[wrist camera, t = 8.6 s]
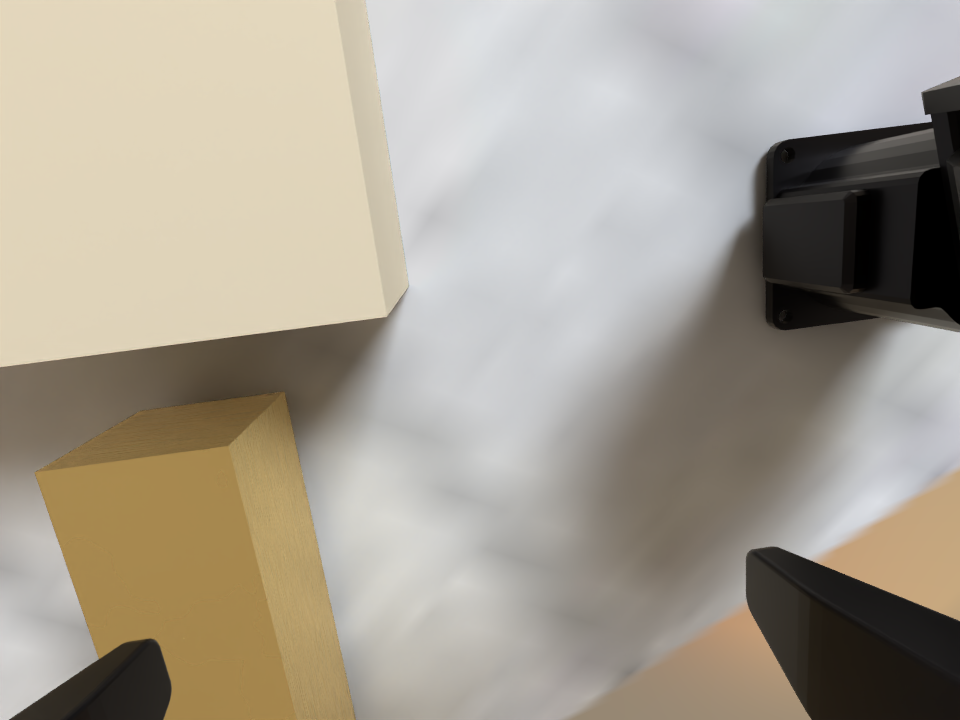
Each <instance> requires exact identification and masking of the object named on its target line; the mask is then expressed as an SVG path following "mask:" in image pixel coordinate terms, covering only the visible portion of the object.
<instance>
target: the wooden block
mask: <svg viewBox="0 0 960 720" xmlns="http://www.w3.org/2000/svg"><path fill="white" fill-rule="evenodd" d="M35 475H36V478H37V481H38V484H39V487H40V490H41V493H42V495H43V498H44V501H45V504H46V507H47V510H48V513H49V516H50V519H51V521H52V524H53V527H54V530H55V533H56V536H57V539H58V542H59V545H60V548H61V550H62V553H63V556H64V559H65V562H66V565H67V568H68V571H69V574H70V576H71V579H72V582H73V585H74V588H75V591H76V594H77V597H78V600H79V602H80V605H81V608H82V611H83V614H84V617H85V620H86V623H87V626H88V629H89V631H90V634H91V637H92V640H93V643H94V646H95V649H96V652H97V655H98V657H99V659H100V658H102V657H103V656H104V655H106V654H107V653H109V652H110V651H112V650H113V649H115V648H116V647H118V646H119V645H121V644H123V643H125V642H128V641H134V640H141V639H148V638H152V639H155V640H156V641H157V642H158V643H159V645H160V648H161V651H162V654H163V657H164V661H165V664H166V667H167V670H168V673H169V677H170V680H171V686H172V693H171V699H170V703H169V706H168V708H167V711H166V714H165V717H164V720H356V718H355V714H354V709H353V705H352V700H351V695H350V691H349V686H348V682H347V677H346V672H345V668H344V663H343V659H342V654H341V649H340V645H339V640H338V636H337V631H336V626H335V622H334V617H333V613H332V608H331V603H330V599H329V594H328V590H327V585H326V580H325V576H324V571H323V567H322V562H321V558H320V553H319V548H318V544H317V539H316V535H315V530H314V525H313V521H312V516H311V512H310V507H309V502H308V498H307V493H306V489H305V484H304V479H303V475H302V470H301V466H300V461H299V456H298V452H297V447H296V443H295V438H294V433H293V429H292V424H291V420H290V415H289V411H288V406H287V401H286V397H285V392H276V393H269V394H262V395H254V396H247V397H239V398H232V399H224V400H217V401H209V402H202V403H194V404H187V405H179V406H172V407H164V408H157V409H149V410H142V411H140V412H138V413H136V414H134V415H133V416H131V417H129V418H128V419H126V420H124V421H122V422H121V423H119V424H117V425H115V426H114V427H112V428H110V429H109V430H107V431H105V432H103V433H102V434H100V435H98V436H96V437H95V438H93V439H91V440H90V441H88V442H86V443H84V444H83V445H81V446H79V447H78V448H76V449H74V450H72V451H71V452H69V453H67V454H65V455H64V456H62V457H60V458H59V459H57V460H55V461H53V462H52V463H50V464H48V465H47V466H45V467H43V468H41V469H40V470H38V471H36V472H35Z"/></svg>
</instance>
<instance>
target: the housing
mask: <svg viewBox="0 0 960 720" xmlns="http://www.w3.org/2000/svg"><path fill="white" fill-rule="evenodd" d="M408 286H409V283H408V277H407V270H406V264H405V257H404V251H403V244H402V238H401V231H400V225H399V218H398V211H397V205H396V198H395V192H394V185H393V179H392V172H391V166H390V159H389V153H388V146H387V140H386V133H385V126H384V120H383V113H382V107H381V100H380V94H379V87H378V81H377V74H376V68H375V61H374V54H373V48H372V41H371V35H370V28H369V22H368V15H367V9H366V2H365V0H0V367H6V366H13V365H21V364H29V363H36V362H44V361H52V360H60V359H67V358H75V357H83V356H90V355H98V354H106V353H113V352H121V351H129V350H136V349H144V348H152V347H159V346H167V345H175V344H182V343H190V342H198V341H205V340H213V339H221V338H228V337H236V336H244V335H251V334H259V333H267V332H274V331H282V330H290V329H297V328H305V327H313V326H321V325H328V324H336V323H344V322H351V321H359V320H367V319H374V318H382V317H387V316H388V315H389V313H390V312H391V311H392V309H393V308H394V306H395V305H396V303H397V302H398V301H399V299H400V298H401V296H402V295H403V294H404V292H405V291H406V289H407V288H408Z"/></svg>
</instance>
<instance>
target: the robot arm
mask: <svg viewBox="0 0 960 720" xmlns="http://www.w3.org/2000/svg"><path fill="white" fill-rule="evenodd" d="M921 94H922V100H923V105H924V111H925V115H928V114H931V119H932V122H928V123H920V124H912V125H903V126H895V127H887V128H879V129H871V130H863V131H854V132H846V133H838V134H830V135H822V136H814V137H805V138H797V139H789V140H785V141H781V142H778V143H775V144H774V145H773V146H772V147H771V148H770V150H769V151H768V154H767V181H766V204H765V206H764V208H763V277H764V278H765V279H766V320H767V323H768V324H769V325H770V326H771V327H773V328H776V329H779V330H791V329H798V328H806V327H813V326H821V325H828V324H836V323H843V322H850V321H858V320H865V319H873V318H880V317H882V318H887V319H893V320H898V321H903V322H908V323H913V324H919V325H924V326H929V327H934V328H940V329H945V330H950V331H955V332H960V76H959V77H957V78H955V79H952V80H950V81H947V82H945V83H942V84H940V85H938V86H935V87H933V88H930V89H928V90H926V91H923V92H921ZM783 150H785V151H786V152H787V153H788V159H787V161H786V162H785V163H784V162H783V161H782V160H781V152H782V151H783ZM783 310H785V312H786V316H785V318H784V319H783V321H780V320H779V315H780V313H781V312H782V311H783ZM746 598H747V603H748V607H749V609H750V612H751V613H752V616H753V617H754V619H755V621H756V623H757V624H758V626H759V628H760V630H761V632H762V634H763V635H764V637H765V639H766V641H767V643H768V644H769V646H770V648H771V650H772V651H773V653H774V655H775V657H776V659H777V661H778V662H779V664H780V666H781V667H782V670H783V671H784V673H785V675H786V677H787V679H788V680H789V682H790V684H791V686H792V687H793V689H794V691H795V693H796V695H797V696H798V698H799V700H800V702H801V703H802V705H803V707H804V708H805V710H806V712H807V713H808V715H809V716H810V718H811V719H812V720H960V621H958V620H956V619H953V618H951V617H949V616H946V615H944V614H941V613H939V612H936V611H934V610H931V609H929V608H926V607H924V606H921V605H919V604H916V603H914V602H912V601H909V600H907V599H904V598H902V597H899V596H897V595H894V594H892V593H889V592H887V591H884V590H882V589H879V588H877V587H875V586H872V585H870V584H867V583H865V582H862V581H860V580H857V579H855V578H852V577H850V576H847V575H845V574H842V573H840V572H838V571H835V570H832V569H830V568H827V567H825V566H823V565H820V564H818V563H815V562H813V561H810V560H808V559H805V558H803V557H801V556H798V555H796V554H793V553H791V552H788V551H786V550H783V549H781V548H778V547H765V548H758V549H752V550H750V551H749V552H748V553H747V556H746ZM171 693H172V686H171V680H170V677H169V673H168V670H167V667H166V664H165V661H164V657H163V654H162V651H161V648H160V645H159V643H158V642H157V641H156V640H155V639H152V638H148V639H141V640H134V641H128V642H125V643H123V644H121V645H119V646H118V647H116V648H115V649H113V650H112V651H110V652H109V653H107V654H106V655H104V656H103V657H102V658H100V659H99V660H97V661H96V662H94V663H93V664H91V665H90V666H88V667H87V668H85V669H84V670H82V671H81V672H79V673H78V674H76V675H75V676H73V677H72V678H70V679H69V680H67V681H66V682H64V683H63V684H61V685H60V686H58V687H57V688H55V689H54V690H52V691H51V692H50V693H48V694H47V695H45V696H44V697H42V698H41V699H39V700H38V701H36V702H35V703H33V704H32V705H30V706H29V707H27V708H26V709H24V710H23V711H21V712H20V713H18V714H17V715H15V716H14V717H12V718H11V719H9V720H164V717H165V714H166V711H167V708H168V706H169V703H170V699H171Z"/></svg>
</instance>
